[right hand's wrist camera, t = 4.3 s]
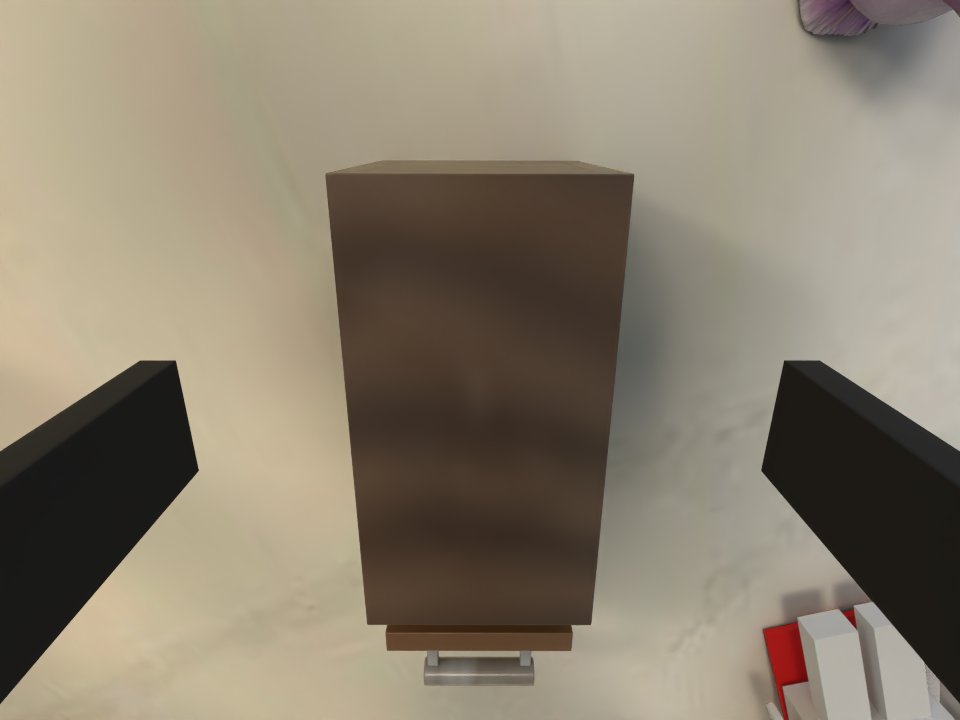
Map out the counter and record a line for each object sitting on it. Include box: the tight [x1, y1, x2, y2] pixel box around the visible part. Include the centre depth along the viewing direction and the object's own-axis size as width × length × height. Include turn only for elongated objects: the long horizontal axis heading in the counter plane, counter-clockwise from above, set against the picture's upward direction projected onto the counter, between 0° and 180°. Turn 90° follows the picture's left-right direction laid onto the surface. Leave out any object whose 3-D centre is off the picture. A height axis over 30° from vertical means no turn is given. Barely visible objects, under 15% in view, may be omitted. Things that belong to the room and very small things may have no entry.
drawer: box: [386, 625, 573, 686], centre depth 31 cm, size 24×9×10 cm, turn 0°
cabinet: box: [326, 161, 634, 625], centre depth 28 cm, size 20×10×12 cm, turn 0°
